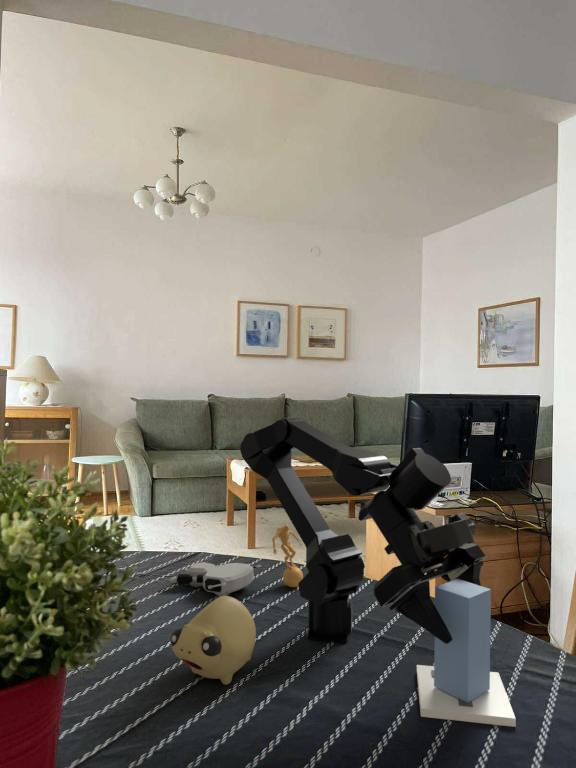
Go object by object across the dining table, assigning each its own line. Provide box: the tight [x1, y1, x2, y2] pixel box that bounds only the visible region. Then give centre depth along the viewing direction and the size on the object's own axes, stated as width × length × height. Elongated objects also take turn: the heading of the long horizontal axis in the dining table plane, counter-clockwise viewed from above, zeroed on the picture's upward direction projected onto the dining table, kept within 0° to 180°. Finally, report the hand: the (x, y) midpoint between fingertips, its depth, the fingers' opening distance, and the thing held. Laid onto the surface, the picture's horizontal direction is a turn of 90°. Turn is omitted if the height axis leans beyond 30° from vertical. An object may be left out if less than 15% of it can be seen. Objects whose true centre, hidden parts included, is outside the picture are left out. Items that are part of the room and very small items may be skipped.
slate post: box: [433, 579, 492, 703], centre depth 75 cm, size 5×5×13 cm
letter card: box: [416, 664, 517, 728], centre depth 75 cm, size 11×11×1 cm
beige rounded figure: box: [169, 595, 257, 686], centre depth 79 cm, size 10×12×11 cm
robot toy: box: [169, 562, 262, 597], centre depth 113 cm, size 12×4×15 cm
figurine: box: [271, 524, 304, 588], centre depth 115 cm, size 8×6×12 cm
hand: (470, 631), depth 74 cm, fingers open, 9 cm apart
